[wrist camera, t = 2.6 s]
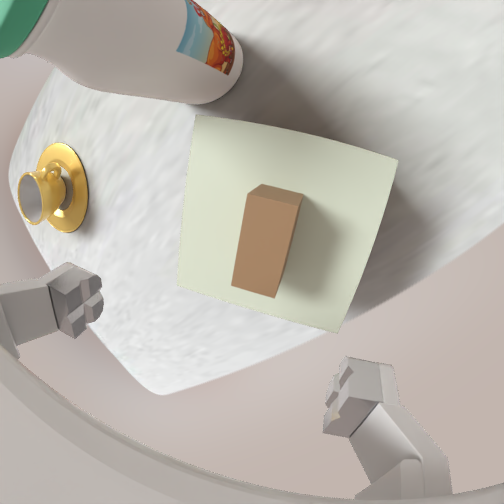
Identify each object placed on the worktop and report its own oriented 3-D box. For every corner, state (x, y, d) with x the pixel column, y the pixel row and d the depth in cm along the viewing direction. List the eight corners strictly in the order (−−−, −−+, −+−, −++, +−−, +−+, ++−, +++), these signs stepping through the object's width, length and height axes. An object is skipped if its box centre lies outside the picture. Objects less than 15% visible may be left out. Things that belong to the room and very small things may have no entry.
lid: (393, 158, 14) (414, 165, 11) (337, 323, 19) (336, 364, 16) (204, 115, 16) (169, 111, 12) (184, 277, 21) (155, 307, 17)
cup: (69, 248, 34) (41, 264, 29) (30, 188, 32) (2, 198, 28) (104, 188, 29) (69, 199, 24) (57, 123, 27) (24, 128, 22)
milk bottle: (230, 113, 22) (2, 97, 5) (156, 98, 23) (-51, 100, 5) (256, 34, 19) (98, -108, 1) (179, 26, 20) (-3, -43, 2)
